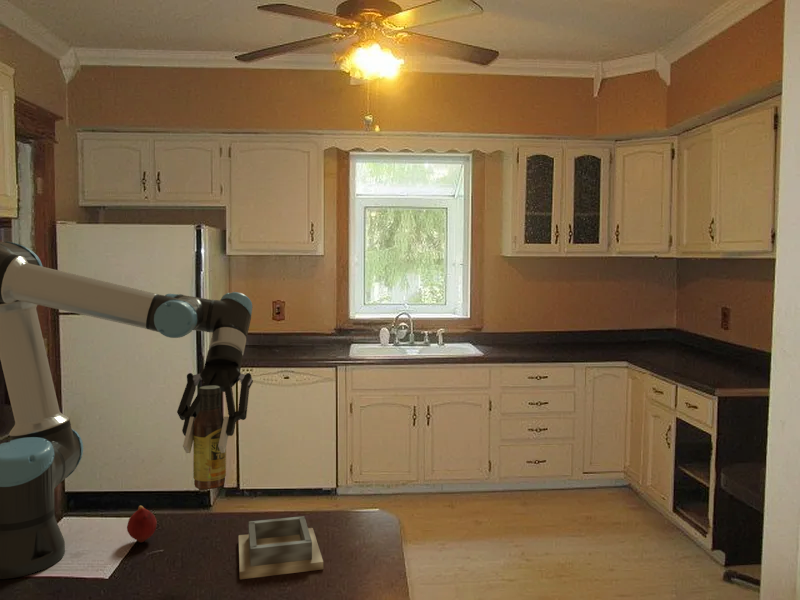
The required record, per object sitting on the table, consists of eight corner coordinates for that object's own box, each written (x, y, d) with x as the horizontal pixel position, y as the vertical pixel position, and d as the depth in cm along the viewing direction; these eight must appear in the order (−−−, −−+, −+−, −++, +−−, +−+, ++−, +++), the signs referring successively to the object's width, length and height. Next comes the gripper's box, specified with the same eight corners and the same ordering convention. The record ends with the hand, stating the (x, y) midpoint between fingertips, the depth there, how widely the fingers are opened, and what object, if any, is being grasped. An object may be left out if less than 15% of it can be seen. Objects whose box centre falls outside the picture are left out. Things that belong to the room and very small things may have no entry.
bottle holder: (239, 579, 115) (239, 553, 115) (238, 542, 131) (238, 519, 130) (323, 569, 120) (323, 544, 119) (312, 534, 135) (312, 512, 135)
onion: (157, 534, 134) (157, 499, 133) (155, 546, 128) (155, 509, 128) (128, 537, 132) (128, 502, 131) (125, 549, 126) (125, 512, 126)
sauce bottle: (216, 492, 117) (215, 391, 116) (187, 489, 119) (185, 389, 117) (232, 480, 124) (231, 384, 123) (204, 478, 125) (203, 383, 124)
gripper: (272, 363, 135) (256, 458, 120) (186, 363, 135) (160, 458, 120) (266, 342, 130) (249, 440, 114) (177, 343, 129) (148, 440, 114)
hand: (204, 449), depth 117 cm, fingers closed on sauce bottle, 6 cm apart
